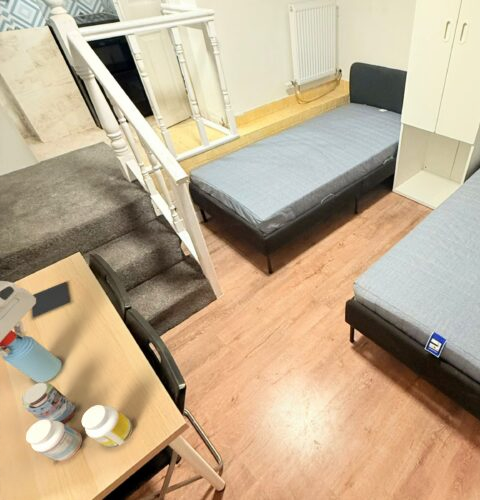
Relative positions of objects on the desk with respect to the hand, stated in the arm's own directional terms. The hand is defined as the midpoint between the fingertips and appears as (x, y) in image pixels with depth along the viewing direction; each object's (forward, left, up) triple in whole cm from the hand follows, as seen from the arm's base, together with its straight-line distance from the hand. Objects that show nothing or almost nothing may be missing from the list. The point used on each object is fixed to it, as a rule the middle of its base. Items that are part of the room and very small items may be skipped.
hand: (15, 344), depth 81 cm
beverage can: (+7, -14, -14) cm, 21 cm away
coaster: (-8, +27, -14) cm, 31 cm away
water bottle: (-1, 0, -14) cm, 14 cm away
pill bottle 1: (+10, -22, -14) cm, 28 cm away
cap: (-1, 0, +4) cm, 4 cm away
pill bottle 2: (+21, -22, -14) cm, 34 cm away
